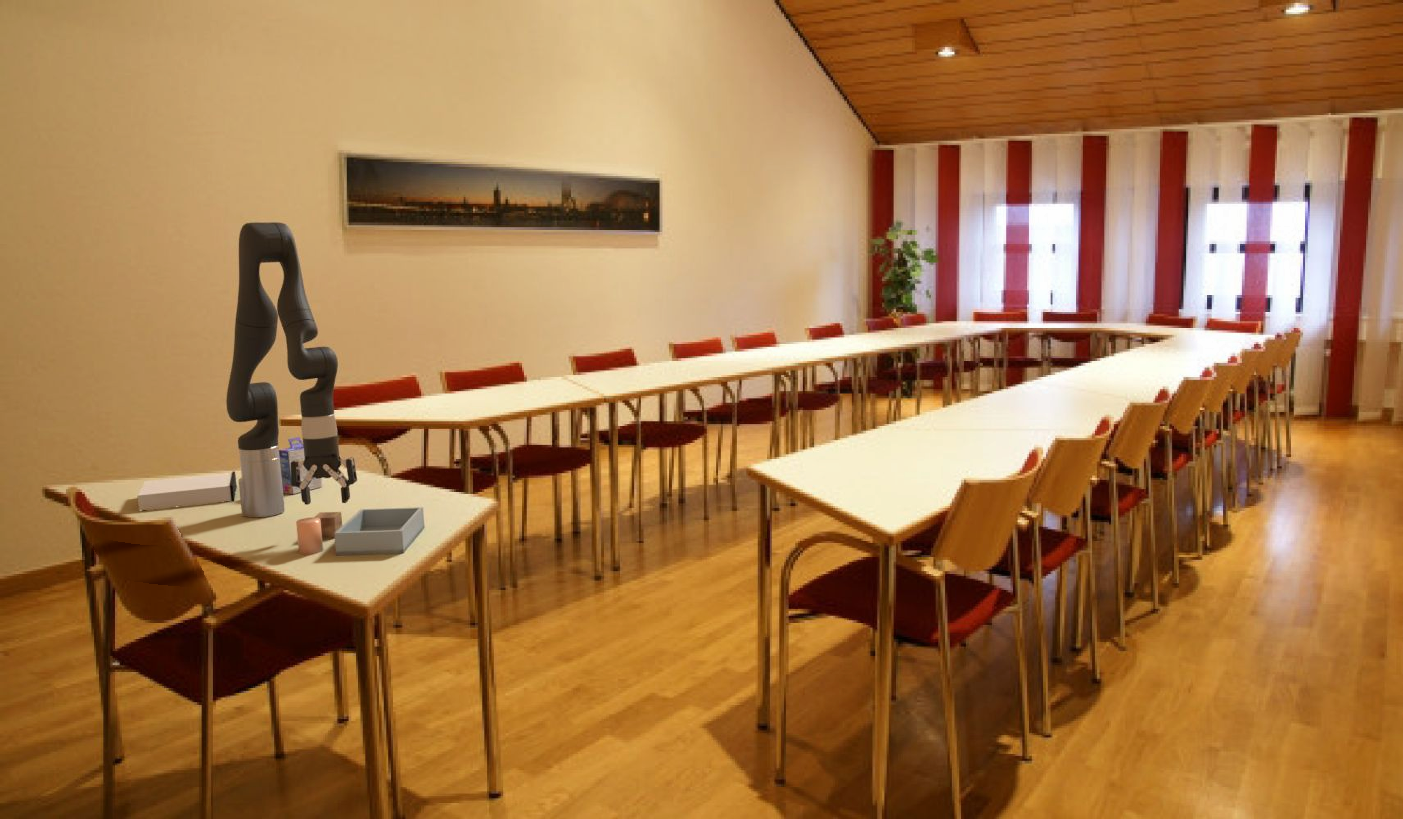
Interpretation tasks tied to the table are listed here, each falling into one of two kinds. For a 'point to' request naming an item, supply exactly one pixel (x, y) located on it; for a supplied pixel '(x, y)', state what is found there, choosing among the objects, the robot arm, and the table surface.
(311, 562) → the table surface
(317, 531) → the orange round part
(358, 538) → the tote
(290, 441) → the ink cartridge box
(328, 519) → the cube
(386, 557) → the table surface
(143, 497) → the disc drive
